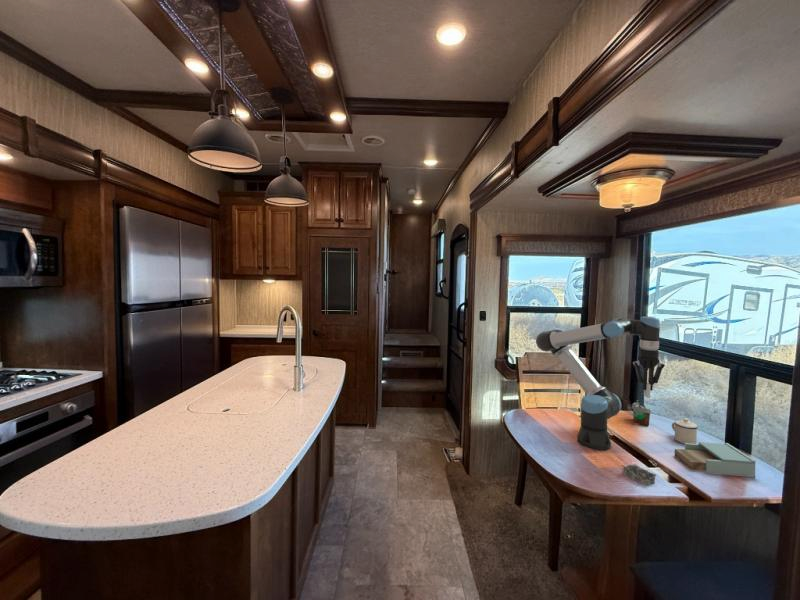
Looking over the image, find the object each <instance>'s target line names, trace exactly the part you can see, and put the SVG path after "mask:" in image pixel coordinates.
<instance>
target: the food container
mask: <svg viewBox="0 0 800 600" xmlns="http://www.w3.org/2000/svg"><path fill="white" fill-rule="evenodd" d="M631 409H632V412H633V413H632V415H633V422H634V423H635V424H637V425H639V426H643V427H644V426H645V427H649V426H650V418H651V417H650V416H651V413H652V412H651V409H649V408H648V409H647V407H645V406H643V405H641V404H640V402H633V403H632V404H631Z"/></svg>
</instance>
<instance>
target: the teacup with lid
mask: <svg viewBox="0 0 800 600" xmlns="http://www.w3.org/2000/svg"><path fill="white" fill-rule="evenodd" d="M671 428H672V431H673V432H674V440H675V441H677V442H679V443H681V444H684V445H685V443H690V444H698V443H697V440H698V439H697V434H698V433H697V432H698V425H697V424H696V423H694V422H692V421H690V420H689V419H688V418H686V417H684V418H683V419H678V420H675V421H674V422H672V423H671Z"/></svg>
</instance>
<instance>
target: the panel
mask: <svg viewBox="0 0 800 600" xmlns="http://www.w3.org/2000/svg"><path fill="white" fill-rule="evenodd" d="M674 457H675V458H676V459H677V460H678V461H680V462H681V463H682V464H684V465H685V466H686V467H687V468H688V469H690V470H691V471H699V472H701V471H702V472H706V459H711V460H720V459H718V458H717V457H716V456H714V455H713V454H712V453H710V452H709V451H700V450H686V449H685V448H683V449H682V448H674Z"/></svg>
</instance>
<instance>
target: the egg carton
mask: <svg viewBox="0 0 800 600" xmlns="http://www.w3.org/2000/svg"><path fill="white" fill-rule="evenodd" d="M621 467H622V468H623V470H622V473H623V474H624V476H625V477H630V478H631V479H632V481H638V482H640V484H641V485H643V486H644V485H645V486H647V487H648V486H651V485H650V484H655V481H656V476H657V474H656V473H653V472H650V471H649V470H647V469H645V468H642V467H640V466H639V465H637V464H629V465H626V466H625V465H623V464H622V465H621Z"/></svg>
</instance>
